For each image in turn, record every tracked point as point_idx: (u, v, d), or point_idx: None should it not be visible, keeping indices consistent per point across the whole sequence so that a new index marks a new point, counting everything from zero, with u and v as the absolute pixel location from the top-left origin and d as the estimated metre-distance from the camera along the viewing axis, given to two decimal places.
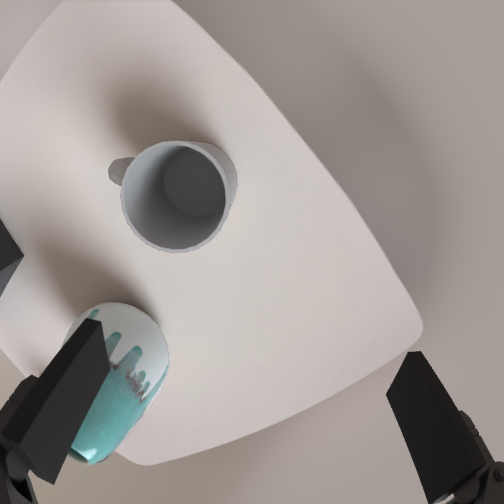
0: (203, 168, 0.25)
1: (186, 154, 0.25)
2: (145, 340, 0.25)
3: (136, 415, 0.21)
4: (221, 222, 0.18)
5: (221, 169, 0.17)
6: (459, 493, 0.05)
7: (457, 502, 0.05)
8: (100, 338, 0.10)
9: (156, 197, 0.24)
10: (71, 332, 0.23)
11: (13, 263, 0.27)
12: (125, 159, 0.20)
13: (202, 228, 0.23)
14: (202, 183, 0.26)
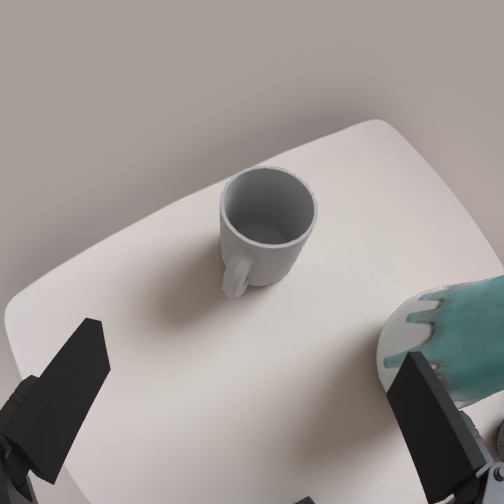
0: None
1: None
2: (412, 299, 0.23)
3: None
4: (292, 174, 0.23)
5: (251, 168, 0.23)
6: (459, 493, 0.05)
7: (457, 502, 0.05)
8: (101, 338, 0.11)
9: None
10: None
11: None
12: None
13: (299, 225, 0.26)
14: None
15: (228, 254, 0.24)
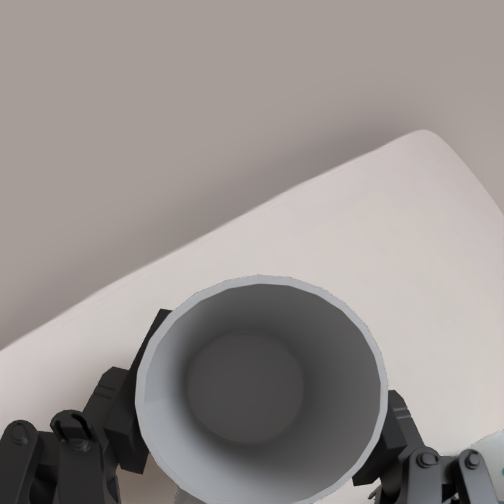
0: (227, 378, 0.15)
1: (199, 401, 0.14)
2: (491, 462, 0.08)
3: None
4: (330, 299, 0.08)
5: (218, 285, 0.08)
6: (383, 482, 0.07)
7: (384, 491, 0.06)
8: None
9: (263, 454, 0.11)
10: None
11: None
12: (179, 491, 0.09)
13: (330, 373, 0.12)
14: (251, 383, 0.15)
15: None
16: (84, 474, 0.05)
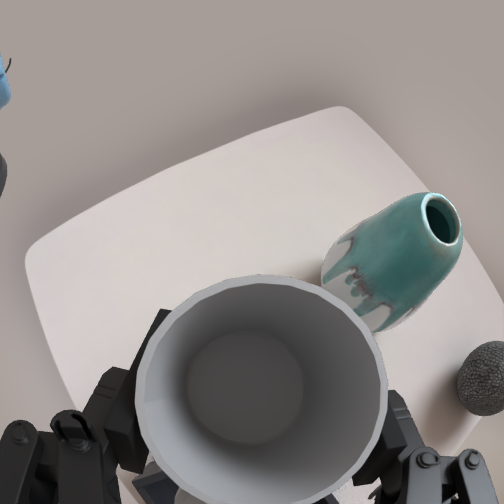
0: (226, 378, 0.15)
1: (199, 401, 0.14)
2: None
3: None
4: (330, 298, 0.08)
5: (218, 285, 0.08)
6: (383, 482, 0.07)
7: (384, 491, 0.06)
8: None
9: (263, 454, 0.11)
10: (342, 289, 0.26)
11: None
12: (179, 491, 0.09)
13: (330, 372, 0.12)
14: (250, 383, 0.15)
15: None
16: (84, 474, 0.05)
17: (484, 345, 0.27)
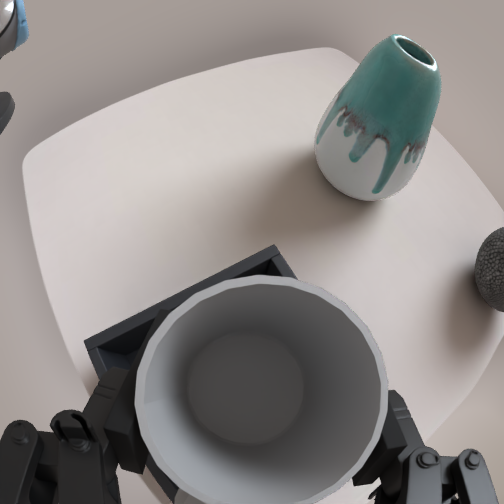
0: (226, 378, 0.15)
1: (199, 401, 0.14)
2: None
3: None
4: (330, 299, 0.08)
5: (218, 285, 0.08)
6: (383, 482, 0.07)
7: (384, 491, 0.06)
8: None
9: (263, 455, 0.11)
10: (335, 134, 0.25)
11: None
12: (179, 492, 0.09)
13: (330, 373, 0.12)
14: (250, 383, 0.15)
15: None
16: (84, 474, 0.05)
17: (496, 230, 0.25)
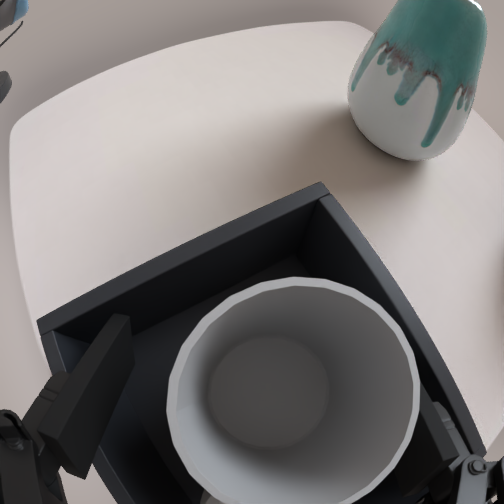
0: (249, 382, 0.15)
1: (221, 405, 0.14)
2: None
3: None
4: (364, 300, 0.08)
5: (253, 288, 0.08)
6: (433, 488, 0.06)
7: (432, 497, 0.06)
8: (128, 333, 0.11)
9: (287, 458, 0.11)
10: (376, 74, 0.18)
11: None
12: (203, 498, 0.08)
13: (356, 375, 0.11)
14: (273, 387, 0.15)
15: None
16: (22, 472, 0.04)
17: None
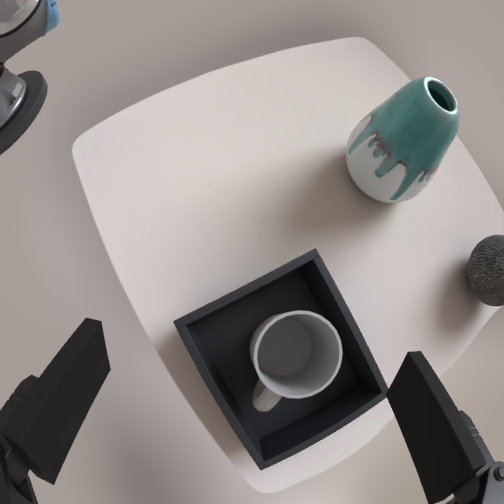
0: (272, 340, 0.31)
1: (258, 353, 0.30)
2: None
3: None
4: (323, 319, 0.23)
5: (283, 314, 0.23)
6: (459, 493, 0.05)
7: (457, 502, 0.05)
8: (101, 338, 0.11)
9: (290, 380, 0.27)
10: (365, 153, 0.30)
11: None
12: (255, 397, 0.25)
13: (323, 342, 0.27)
14: (284, 343, 0.31)
15: None
16: None
17: (489, 236, 0.31)
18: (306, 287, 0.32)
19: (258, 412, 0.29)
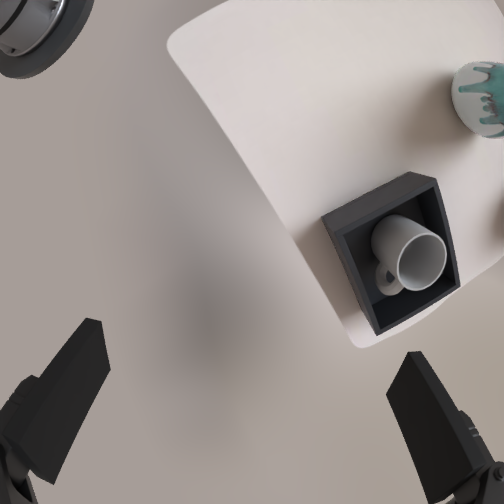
0: None
1: None
2: (476, 61, 0.24)
3: None
4: (440, 239, 0.29)
5: (418, 234, 0.29)
6: (459, 493, 0.05)
7: (457, 502, 0.05)
8: (101, 338, 0.11)
9: (400, 267, 0.37)
10: (476, 102, 0.25)
11: None
12: (381, 283, 0.35)
13: (427, 245, 0.34)
14: None
15: (384, 264, 0.35)
16: None
17: None
18: None
19: (369, 287, 0.41)
